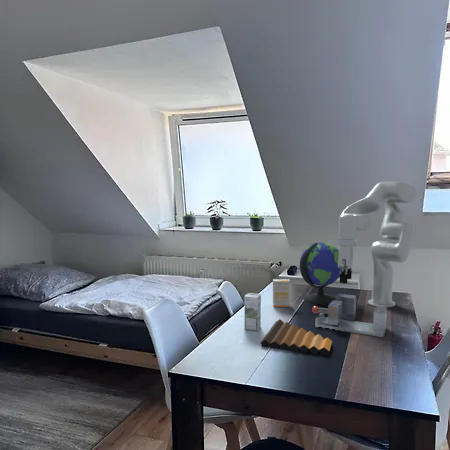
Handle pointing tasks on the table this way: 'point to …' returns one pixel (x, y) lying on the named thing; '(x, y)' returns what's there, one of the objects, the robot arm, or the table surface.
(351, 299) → the steel block
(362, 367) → the table surface
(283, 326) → the pan flute
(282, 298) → the supplement box
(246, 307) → the syrup box
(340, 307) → the free jaw
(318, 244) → the globe
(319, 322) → the vise bed
